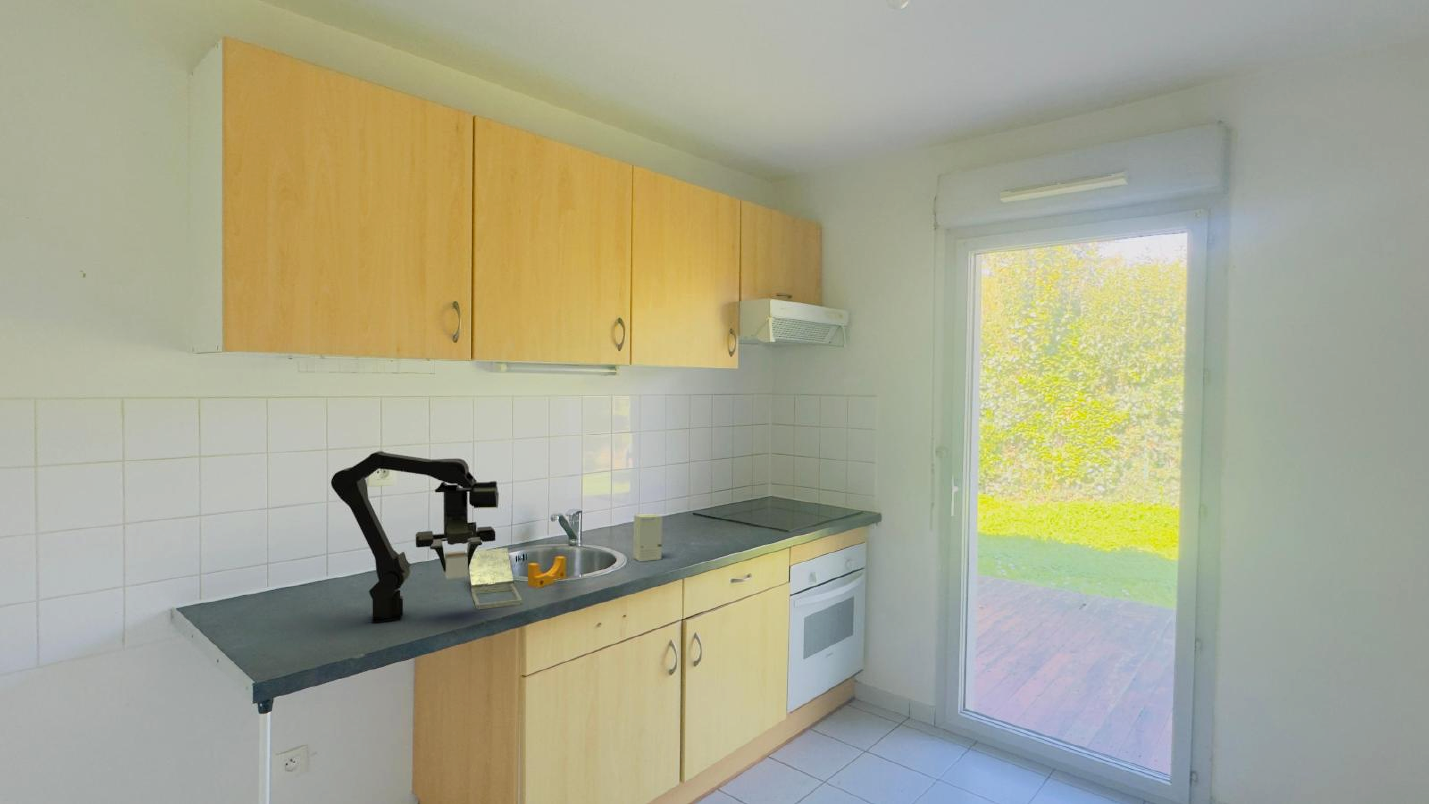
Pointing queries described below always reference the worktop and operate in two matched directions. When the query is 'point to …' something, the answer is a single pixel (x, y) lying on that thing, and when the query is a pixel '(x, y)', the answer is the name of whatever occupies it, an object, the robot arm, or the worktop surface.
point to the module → (456, 564)
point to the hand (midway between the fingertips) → (456, 570)
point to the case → (492, 576)
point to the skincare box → (647, 537)
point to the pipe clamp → (540, 579)
